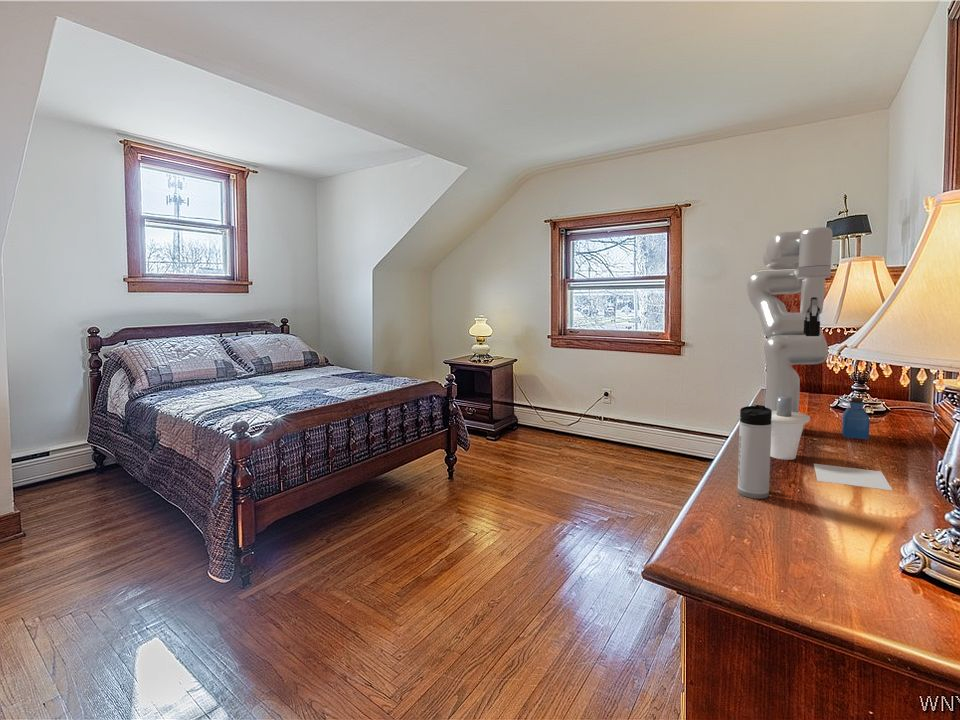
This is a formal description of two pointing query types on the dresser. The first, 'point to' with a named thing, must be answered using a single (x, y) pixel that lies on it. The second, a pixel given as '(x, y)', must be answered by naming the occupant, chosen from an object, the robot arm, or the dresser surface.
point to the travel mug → (754, 451)
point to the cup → (785, 440)
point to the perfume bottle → (856, 420)
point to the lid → (787, 413)
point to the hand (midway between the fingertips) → (811, 334)
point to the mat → (851, 476)
